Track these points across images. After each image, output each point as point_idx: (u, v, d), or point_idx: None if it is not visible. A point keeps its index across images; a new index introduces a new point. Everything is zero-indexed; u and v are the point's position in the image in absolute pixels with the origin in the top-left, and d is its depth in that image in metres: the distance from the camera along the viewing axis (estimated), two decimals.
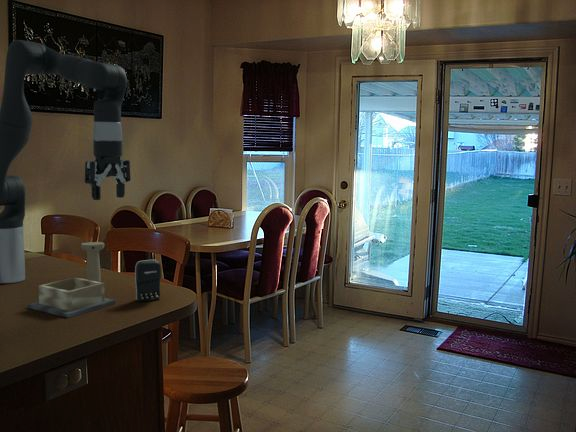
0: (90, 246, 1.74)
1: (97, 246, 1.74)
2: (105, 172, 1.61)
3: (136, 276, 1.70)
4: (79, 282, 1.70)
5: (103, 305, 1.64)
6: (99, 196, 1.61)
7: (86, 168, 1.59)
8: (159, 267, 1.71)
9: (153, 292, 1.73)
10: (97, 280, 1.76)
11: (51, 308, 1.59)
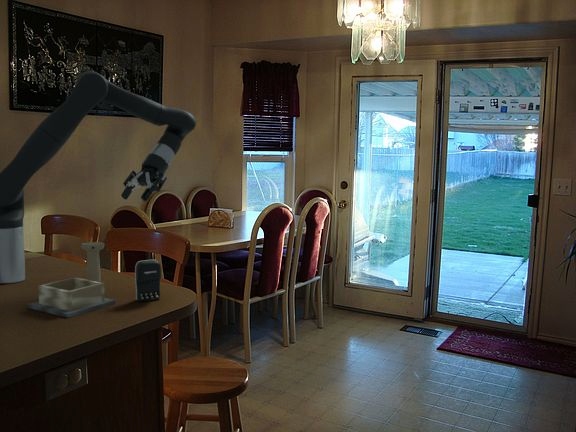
0: (90, 246, 1.74)
1: (97, 246, 1.74)
2: None
3: (136, 276, 1.70)
4: (79, 282, 1.70)
5: (103, 305, 1.64)
6: None
7: (161, 178, 1.88)
8: (159, 267, 1.71)
9: (153, 292, 1.73)
10: (97, 280, 1.76)
11: (51, 308, 1.59)
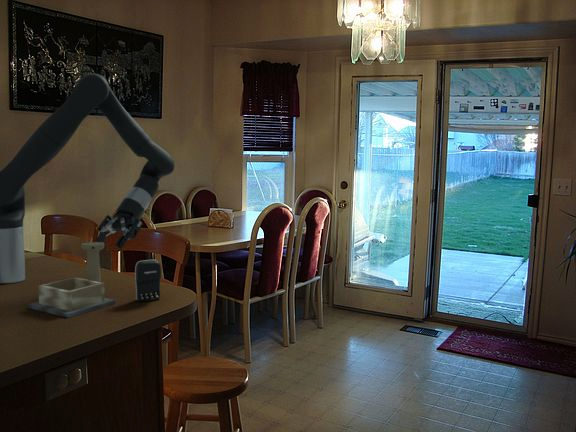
0: (90, 246, 1.74)
1: (97, 246, 1.74)
2: None
3: (136, 276, 1.70)
4: (79, 282, 1.70)
5: (103, 305, 1.64)
6: None
7: (137, 224, 1.81)
8: (159, 267, 1.71)
9: (153, 292, 1.73)
10: (97, 280, 1.76)
11: (51, 308, 1.59)
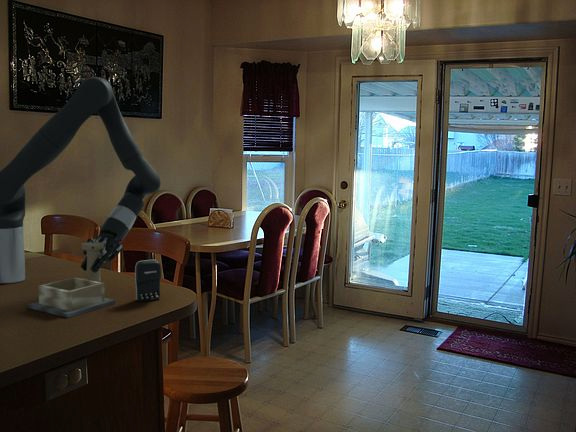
0: (90, 246, 1.74)
1: (97, 246, 1.74)
2: None
3: (136, 276, 1.70)
4: (79, 282, 1.70)
5: (103, 305, 1.64)
6: None
7: (115, 248, 1.76)
8: (159, 267, 1.71)
9: (153, 292, 1.73)
10: (97, 280, 1.76)
11: (51, 308, 1.59)
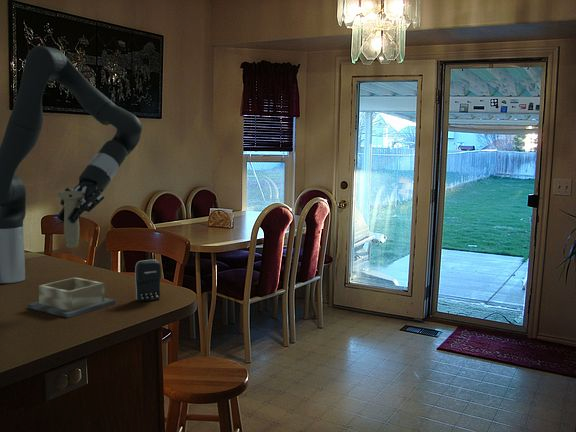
0: (67, 194, 1.59)
1: (75, 194, 1.60)
2: None
3: (136, 276, 1.70)
4: (79, 282, 1.70)
5: (103, 305, 1.64)
6: None
7: (95, 197, 1.61)
8: (159, 267, 1.71)
9: (153, 292, 1.73)
10: (75, 232, 1.62)
11: (51, 308, 1.59)
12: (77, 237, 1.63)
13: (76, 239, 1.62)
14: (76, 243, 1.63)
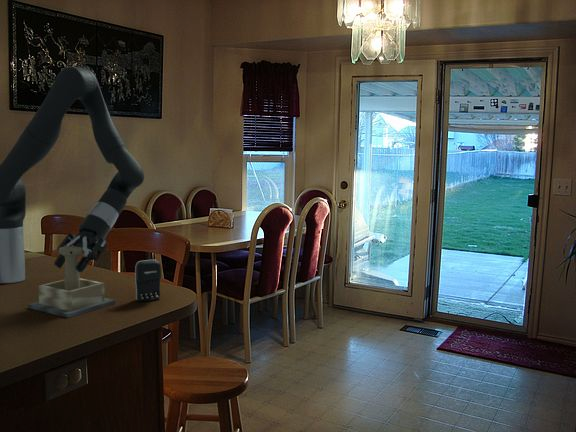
0: (68, 251, 1.61)
1: (76, 251, 1.62)
2: None
3: (136, 276, 1.70)
4: None
5: (103, 305, 1.64)
6: None
7: (100, 244, 1.63)
8: (159, 267, 1.71)
9: (153, 292, 1.73)
10: (76, 287, 1.64)
11: (51, 308, 1.59)
12: None
13: None
14: None
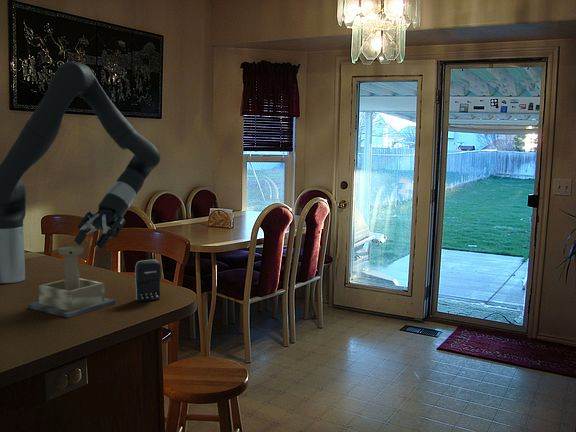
0: (68, 251, 1.61)
1: (75, 251, 1.62)
2: None
3: (136, 276, 1.70)
4: None
5: (103, 305, 1.64)
6: None
7: (119, 222, 1.68)
8: (159, 267, 1.71)
9: (153, 292, 1.73)
10: (76, 287, 1.64)
11: (51, 308, 1.59)
12: None
13: None
14: None
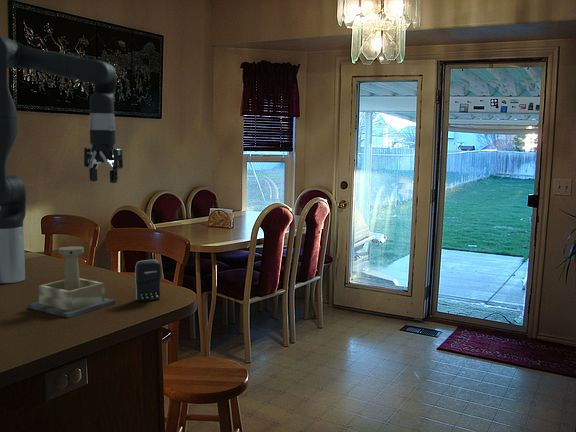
0: (68, 251, 1.61)
1: (75, 251, 1.62)
2: None
3: (136, 276, 1.70)
4: None
5: (103, 305, 1.64)
6: None
7: (117, 155, 1.80)
8: (159, 267, 1.71)
9: (153, 292, 1.73)
10: (76, 287, 1.64)
11: (51, 308, 1.59)
12: None
13: None
14: None
